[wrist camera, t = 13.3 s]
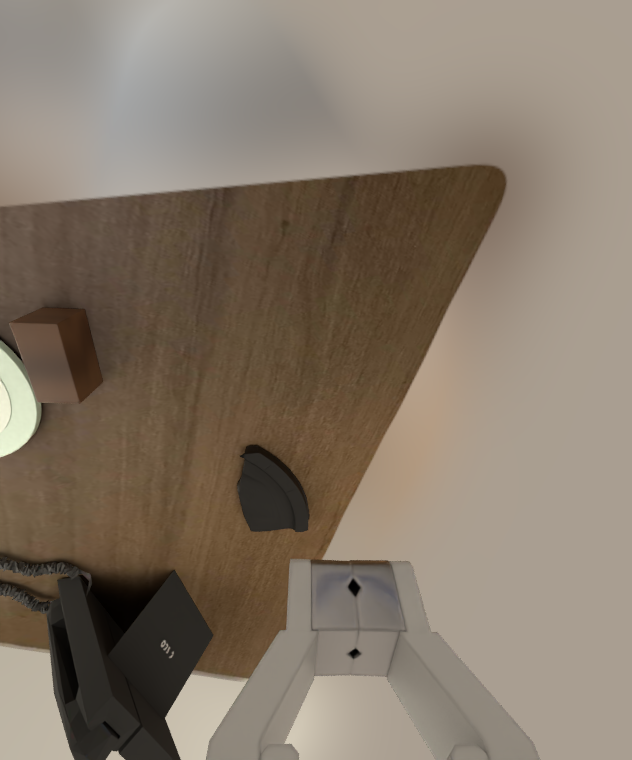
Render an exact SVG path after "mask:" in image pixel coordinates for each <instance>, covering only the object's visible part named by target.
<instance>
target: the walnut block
mask: <svg viewBox="0 0 632 760" xmlns="http://www.w3.org/2000/svg"><path fill="white" fill-rule="evenodd" d="M9 324H10V326H11V329H12V332H13V335H14V338H15V340H16V343H17V346H18V349H19V352H20V354H21V357H22V360H23V363H24V366H25V368H26V371H27V374H28V377H29V380H30V382H31V385H32V388H33V391H34V394H35V396H36V399H37V402H42V403H79V404H80V403H81V402H82V401H83V400H84V399H85V398H86V397H88V396H89V395H90V394H91V393H92V392H93V391H94V390H95V389H96V388H97V387H98V386H99V385H100V384H101V383H102V382H103V380H102V376H101V372H100V368H99V364H98V360H97V356H96V352H95V348H94V344H93V340H92V336H91V332H90V328H89V324H88V320H87V316H86V312H85V309H69V308H41V309H38V310H36V311H34V312H32V313H29V314H27V315H25V316H23V317H20V318H18V319H16V320H14V321H11V322H9Z"/></svg>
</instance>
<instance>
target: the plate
mask: <svg viewBox="0 0 632 760" xmlns="http://www.w3.org/2000/svg"><path fill="white" fill-rule="evenodd" d="M40 419H41V402H37V399H36V396H35V394H34V391H33V388H32V385H31V382H30V380H29V377H28V374H27V371H26V368H25V366H24V364H23V363H22V361H21V360H20V359H19V358H18V357H17V355H16V354H15V353H14V352H13V351H12V350H11V349H10V348H9V347H8V346H7V345H6V344H5V343H3V342H2V341H1V340H0V457H1V456H5V455H8V454H10V453H13V452H14V451H16V450H18V449H19V448H21V447H22V446H23V445H24V444H25V443H27V442H28V441H29V440H30V439H31V438H32V436H33V435H34V434H35V432H36V430H37V428H38V426H39V423H40Z"/></svg>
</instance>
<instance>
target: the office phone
mask: <svg viewBox="0 0 632 760" xmlns="http://www.w3.org/2000/svg"><path fill="white" fill-rule="evenodd" d="M6 559H7V557H3V558H2V559H1V558H0V569H4V570H3V572H4V571H5V570H6V569H7V570H12V571H13V573H21V574H22V575H23V576H24V575H27V576H31V575H32V574H33V576H34V577H35V576H38V575H42V574H49V575H51V574H52V573H55V574H56V573H59V572H60V574H63V572H64V574H66V573H67V575H68V576H69V577H71V578H66V579H60V580H58V587H59V594H60V598H59V599H56V600H54V601H50V602H51V604H50V602H48V601H49V600H48V601H47V602H39V600H37V599H36V600H35V598H36V597H33V596H30V594H27V592H25V593H24V591H25V590H26V589H20V588H17V587H16V586H14V587H13V586H12V585H9V584H4V585H2V584H3V583H1V584H0V596H1V595H3V596H5V597H6V596H11V597H12V596H13V599H15V598H16V597H17V598H16V599H15V600H16V601H18V600H19V599H20V600H19V601H18V602H22V601H23V602H22V605H23V604H24V605H25V606H26V607H27V608H31V609H32V611H38V610H39V611H40V612H41V613H42V614H45V613H47V624H48V634H49V645H50V655H51V665H52V676H53V687H54V694H55V698H56V701H57V705H58V708H59V712H60V716H61V719H62V723H63V726H64V730H65V733H66V737H67V740H68V743H69V747H70V750H71V752H72V755H73V757H74V759H75V760H106V758H107V757H108V755H109V754H110V752H111V751H119V754H120V755H121V756H122V757H123V758H124V759H125V760H181V759H180V757H179V754H178V751H177V749H176V746H175V744H174V741H173V738H172V736H171V733H170V730H169V728H168V725H167V723H166V720H165V717H166V715H167V713H168V711H169V710H170V708H171V707H172V705H173V703H174V701H175V700H176V698H177V696H178V695H179V693H180V691H181V690H182V688H183V686H184V685H185V683H186V681H187V679H188V678H189V676H190V674H191V673H192V671H193V669H194V668H195V666H196V664H197V663H198V661H199V659H200V657H201V656H202V654H203V652H204V651H205V649H206V647H207V646H208V644H209V642H210V641H211V639H212V637H213V634H212V632H211V631H210V629H209V627H208V626H207V624H206V622H205V620H204V619H203V617H202V615H201V614H200V612H199V610H198V609H197V607H196V605H195V604H194V602H193V600H192V599H191V597H190V595H189V594H188V592H187V590H186V589H185V587H184V585H183V584H182V582H181V580H180V579H179V577H178V575H177V574H176V572H175V570H174V571H173V572H172V573H171V575H170V576H169V577H168V579H167V580H166V581H165V582H164V584H163V585H162V586H161V588H160V589H159V590H158V591H157V593H156V594H155V595H154V597H153V598H152V599H151V601H150V602H149V603H148V604H147V606H146V607H145V608H144V610H143V611H142V612H141V613H140V615H139V616H138V617H137V619H136V620H135V621H134V622H133V624H132V625H131V626H130V628H129V629H128V630H127V631H126V633H125V634H124V633H123V631H122V630H121V629H120V628H119V626H118V625H117V624H116V623H115V621H114V620H113V619H112V618H111V616H110V615H109V614H108V612H107V611H106V610H105V609H104V607H103V606H102V605H101V604H100V602H99V601H98V600H97V598H96V597H95V596H94V594H93V593H92V592H91V591H90V587H91V585H92V580H91V574H89V573H86V572H84V571H82V570H79V569H78V568H77V567H75V566H74V567H73V565H71V564H70V565H69V564H68V562H67V564H66V563H65V562H63V563H62V562H60V563H59V564H58V563H56V561H55V562H53V563H50V562H48V563H47V564H41V566H40V565H38V564H37V565H36V566H35V564H34V565H31V566H30V564H28V563H24V562H19V563H18V562H16V561H12V559H10V560H6ZM8 563H9V564H8ZM65 565H66V566H65ZM25 566H26V567H25ZM76 570H77V571H76ZM79 574H83V575H84V576H85V577H86V578H87V579H88V580H89V585H88V587H87V585H86V584H85V583H84V582H83V580H82V579H81V578H80V576H78V575H79ZM76 576H77V577H76ZM12 587H13V589H12ZM7 590H8V591H7ZM6 591H7V592H6ZM5 592H6V593H5ZM13 599H12V600H13ZM48 604H49V606H48ZM46 609H47V610H46Z"/></svg>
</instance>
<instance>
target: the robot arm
mask: <svg viewBox="0 0 632 760" xmlns="http://www.w3.org/2000/svg"><path fill="white" fill-rule="evenodd" d="M335 675H360V676H385V677H387V680H388V682H389V683H390V685H391V687H392V688H393V690H394V692H395V693H396V695H397V697H398V698H399V700H400V701H401V703H402V705H403V706H404V708H405V710H406V711H407V713H408V715H409V716H410V718H411V720H412V721H413V723H414V724H415V726H416V728H417V730H418V731H419V733H420V735H421V736H422V738H423V740H424V741H425V743H426V744H427V746H428V748H429V749H430V751H431V753H432V754H433V756H434V758H435V759H436V760H540V758H539V756H538V753H537V751H536V748H535V746H534V744H533V742H532V740H531V739H530V738H529V737H528V736H527V735H526V734H525V732H524V731H523V730H522V729H521V728H520V727H519V725H518V724H517V723H516V722H515V721H514V720H513V719H512V717H511V716H510V715H509V714H508V713H507V712H506V711H505V709H504V708H503V707H502V706H501V705H500V704H499V703H498V701H497V700H496V699H495V698H494V697H493V696H492V694H491V693H490V692H489V691H488V690H487V689H486V688H485V687H484V685H483V684H482V683H481V682H480V681H479V680H478V678H477V677H476V676H475V675H474V674H473V673H472V671H471V670H470V669H469V668H468V667H467V666H466V665H465V663H464V662H463V661H462V660H461V659H460V658H459V657H458V655H457V654H456V653H455V652H454V651H453V650H452V648H451V647H450V646H449V645H448V644H447V643H446V642H445V640H444V639H443V638H442V637H441V636H440V635H439V633H437V632H431V630H430V626H429V623H428V619H427V616H426V612H425V609H424V605H423V601H422V598H421V594H420V591H419V588H418V584H417V580H416V577H415V573H414V570H413V567H412V565H411V563H410V562H408V561H371V560H369V561H368V560H365V561H364V560H363V561H362V560H350V561H334V560H333V561H332V560H310V559H291V560H290V567H289V586H288V606H287V626H286V630H280V631H279V633H278V634H277V636H276V637H275V639H274V640H273V642H272V643H271V645H270V647H269V648H268V650H267V651H266V653H265V654H264V656H263V658H262V659H261V661H260V662H259V664H258V665H257V667H256V669H255V670H254V672H253V673H252V675H251V676H250V678H249V680H248V681H247V683H246V684H245V686H244V687H243V689H242V691H241V692H240V694H239V695H238V697H237V698H236V700H235V702H234V703H233V705H232V706H231V708H230V709H229V711H228V713H227V714H226V716H225V717H224V719H223V720H222V722H221V724H220V725H219V727H218V728H217V730H216V731H215V733H214V735H213V736H212V738H211V739H210V741H209V746H208V751H207V757H206V760H299V753H298V752H297V751H296V749H295V748H294V747H293V746H292V744H284V743H285V741H286V739H287V736H288V734H289V732H290V730H291V728H292V726H293V723H294V721H295V719H296V717H297V714H298V712H299V710H300V708H301V706H302V703H303V702H304V700H305V697H306V695H307V693H308V691H309V689H310V686H311V684H312V682H313V680H314V676H335Z"/></svg>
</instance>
